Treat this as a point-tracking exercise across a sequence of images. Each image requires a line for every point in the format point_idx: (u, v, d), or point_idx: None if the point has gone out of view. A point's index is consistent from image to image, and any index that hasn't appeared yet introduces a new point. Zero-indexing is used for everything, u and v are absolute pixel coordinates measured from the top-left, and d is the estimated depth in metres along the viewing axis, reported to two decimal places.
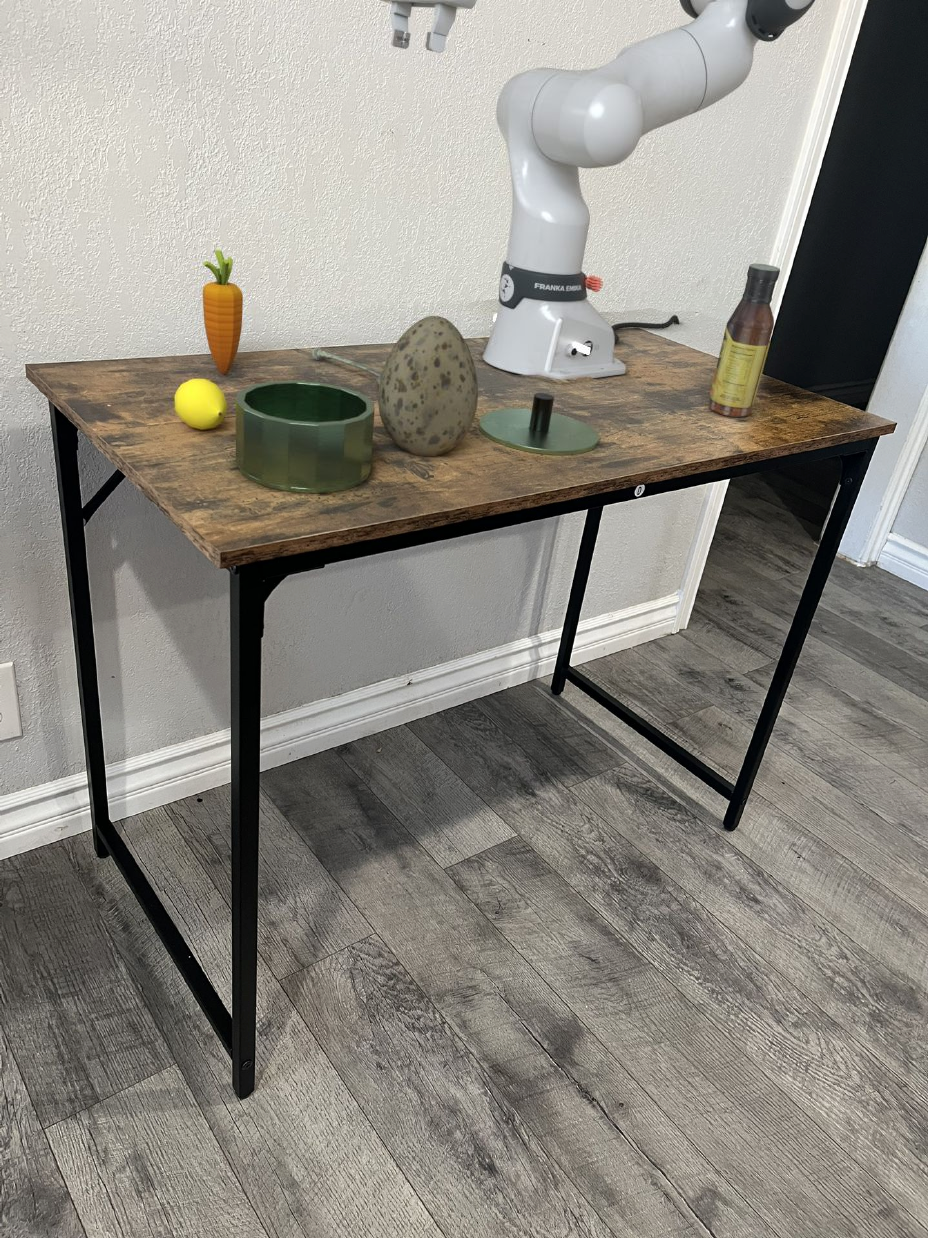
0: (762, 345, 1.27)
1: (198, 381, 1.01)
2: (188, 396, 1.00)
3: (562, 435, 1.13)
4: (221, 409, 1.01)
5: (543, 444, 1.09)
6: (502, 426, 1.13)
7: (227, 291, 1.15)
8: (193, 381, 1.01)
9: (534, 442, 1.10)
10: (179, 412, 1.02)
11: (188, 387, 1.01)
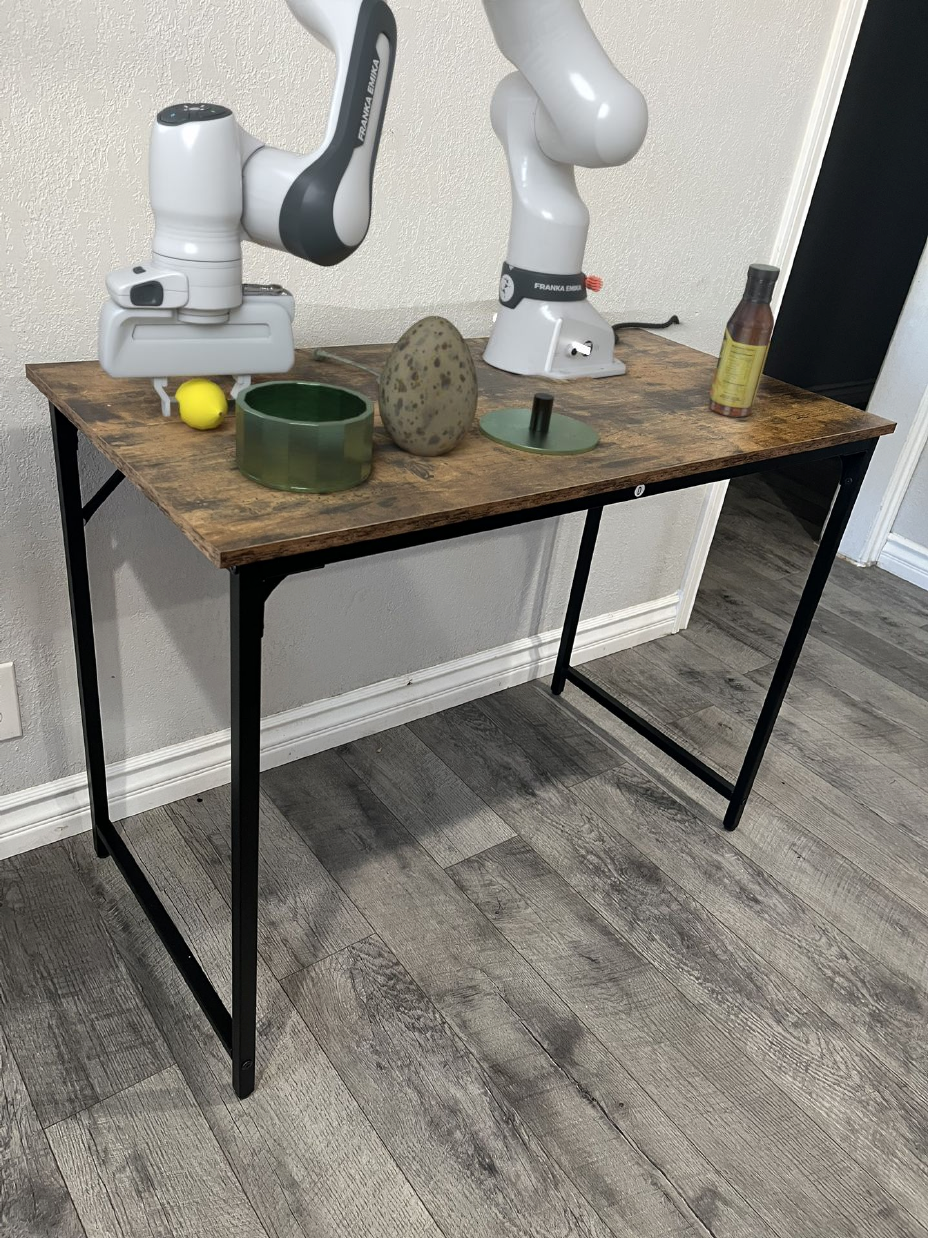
0: (762, 345, 1.27)
1: (198, 381, 1.01)
2: (188, 396, 1.00)
3: (562, 435, 1.13)
4: (222, 409, 1.01)
5: (543, 444, 1.09)
6: (502, 426, 1.13)
7: None
8: (193, 381, 1.01)
9: (534, 442, 1.10)
10: (179, 412, 1.02)
11: (189, 387, 1.01)
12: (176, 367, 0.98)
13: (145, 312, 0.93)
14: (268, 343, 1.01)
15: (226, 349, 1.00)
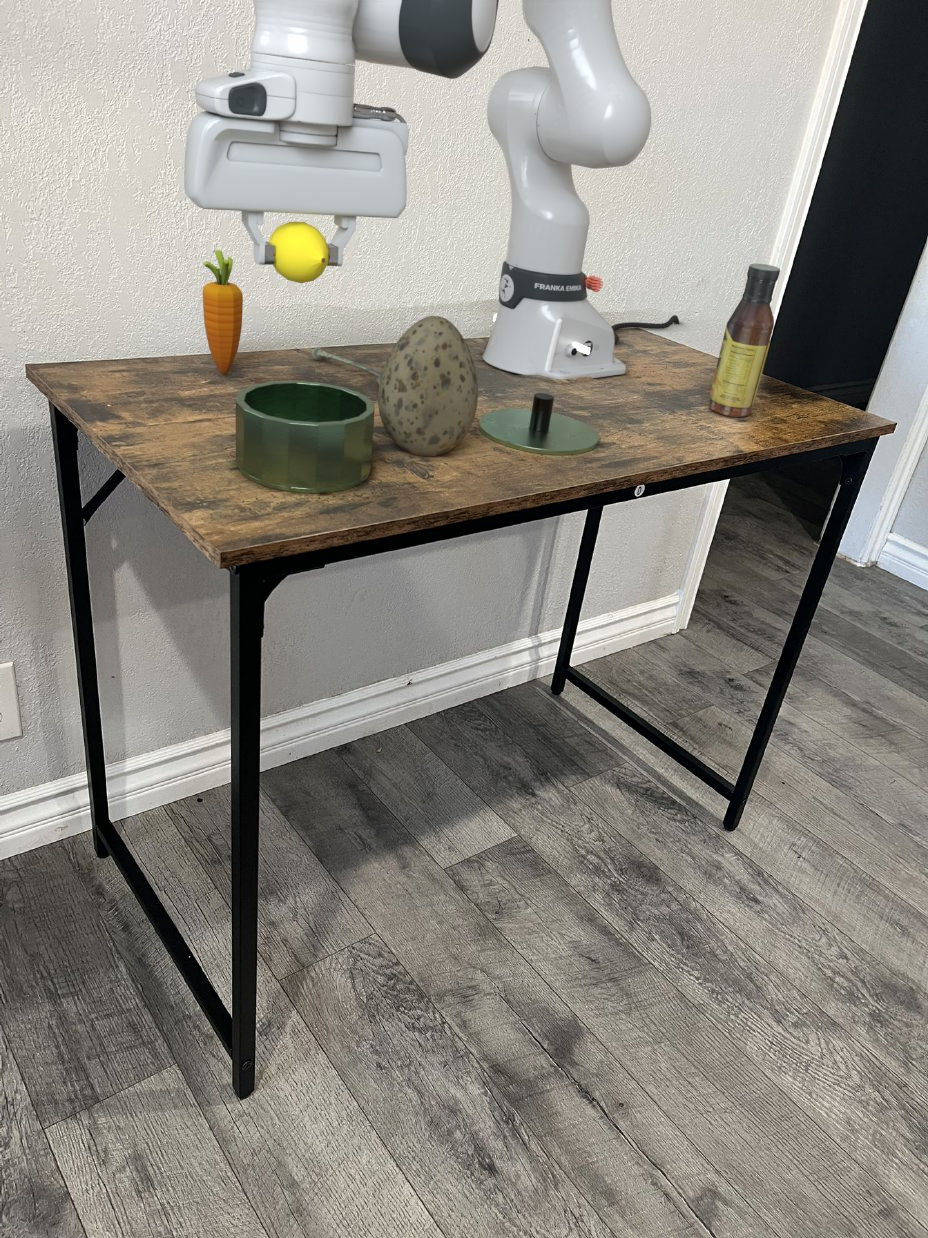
0: (762, 345, 1.27)
1: (297, 222, 0.87)
2: (286, 239, 0.86)
3: (562, 435, 1.13)
4: (324, 255, 0.87)
5: (543, 444, 1.09)
6: (502, 426, 1.13)
7: (227, 291, 1.15)
8: (291, 222, 0.87)
9: (534, 442, 1.10)
10: None
11: (286, 228, 0.86)
12: (275, 200, 0.83)
13: (245, 124, 0.78)
14: (378, 178, 0.87)
15: (331, 181, 0.85)
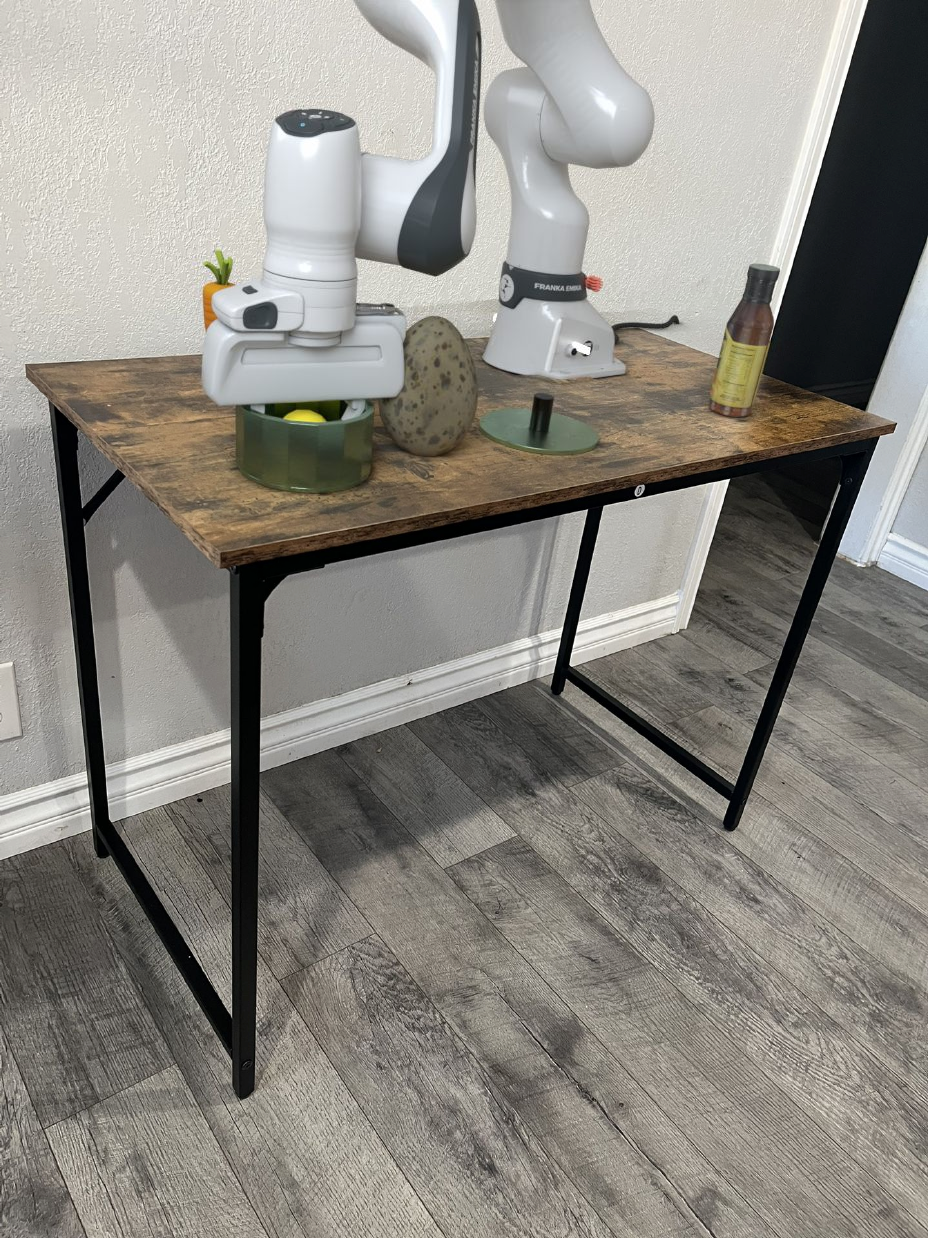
0: (762, 345, 1.27)
1: (304, 413, 0.95)
2: None
3: (562, 435, 1.13)
4: None
5: (543, 444, 1.09)
6: (502, 426, 1.13)
7: None
8: (298, 413, 0.95)
9: (534, 442, 1.10)
10: None
11: (294, 419, 0.94)
12: (285, 393, 0.91)
13: (257, 336, 0.86)
14: (379, 366, 0.95)
15: (336, 373, 0.93)
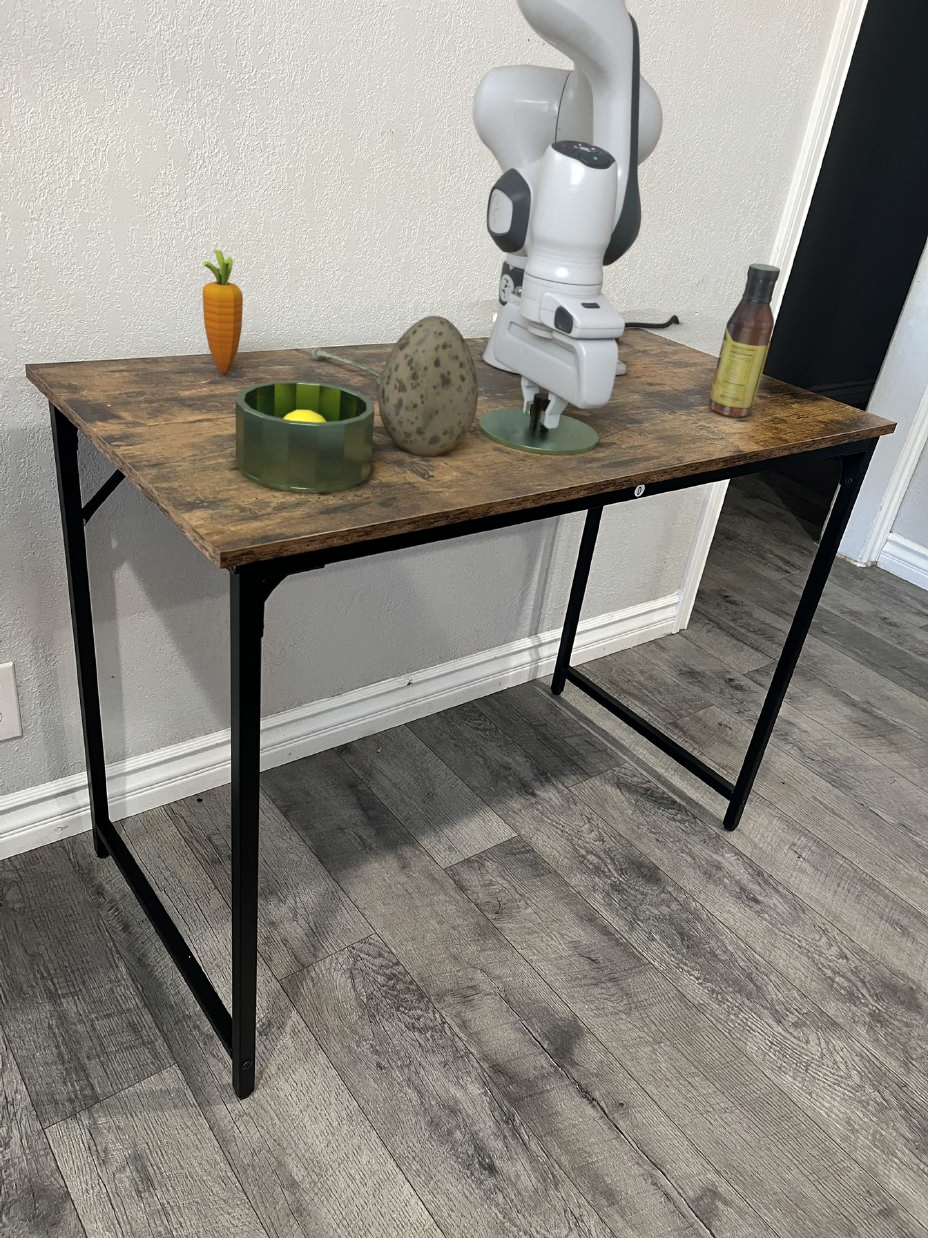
0: (762, 345, 1.27)
1: (304, 413, 0.95)
2: None
3: (562, 435, 1.13)
4: None
5: (542, 444, 1.09)
6: (502, 426, 1.13)
7: (227, 291, 1.15)
8: (298, 413, 0.95)
9: (534, 442, 1.10)
10: None
11: (294, 419, 0.94)
12: None
13: None
14: None
15: None
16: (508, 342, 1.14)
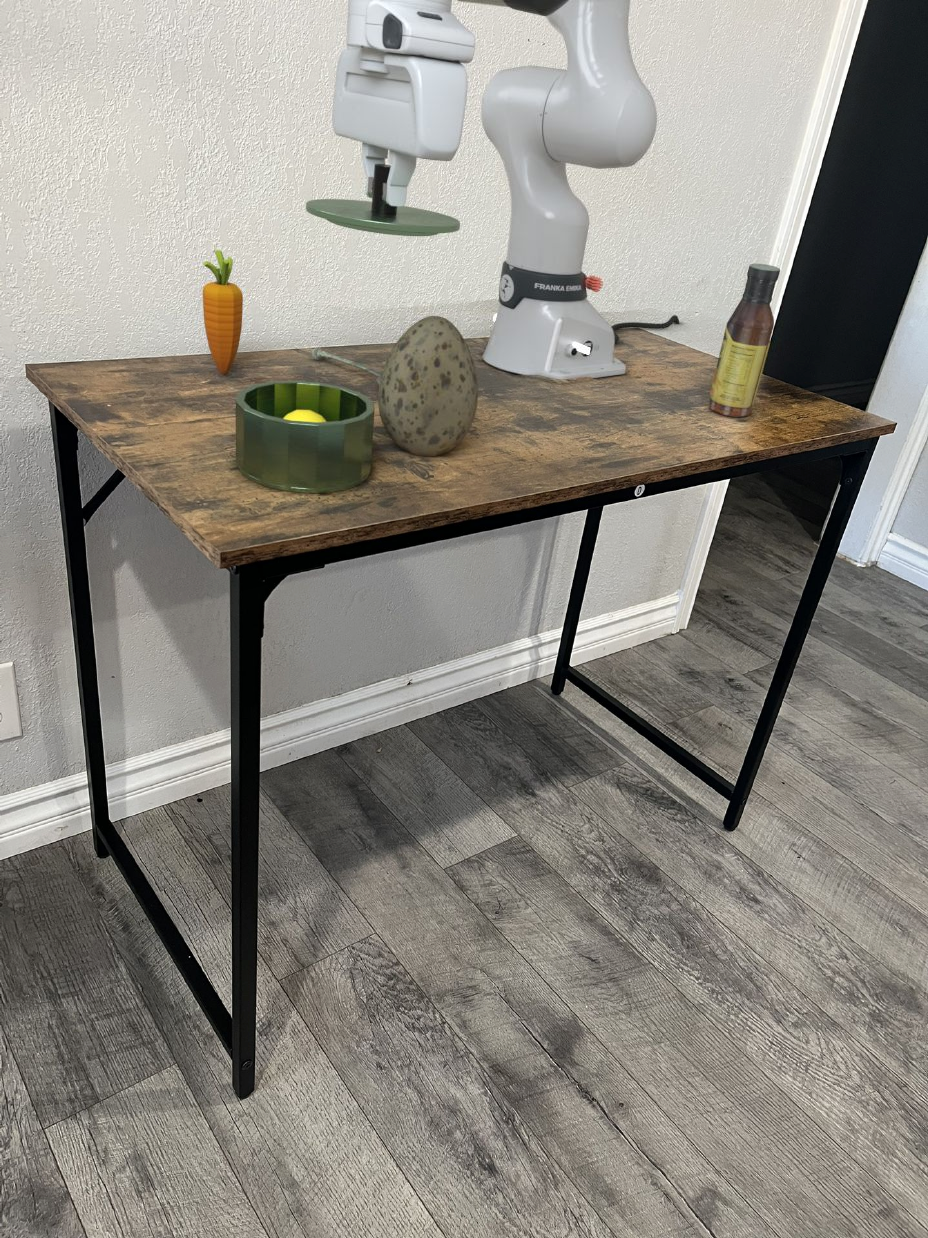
0: (762, 345, 1.27)
1: (304, 413, 0.95)
2: None
3: (411, 217, 0.88)
4: None
5: (380, 219, 0.84)
6: (335, 206, 0.88)
7: (227, 291, 1.15)
8: (298, 413, 0.95)
9: (369, 217, 0.85)
10: None
11: (294, 419, 0.94)
12: None
13: None
14: None
15: None
16: (345, 101, 0.89)
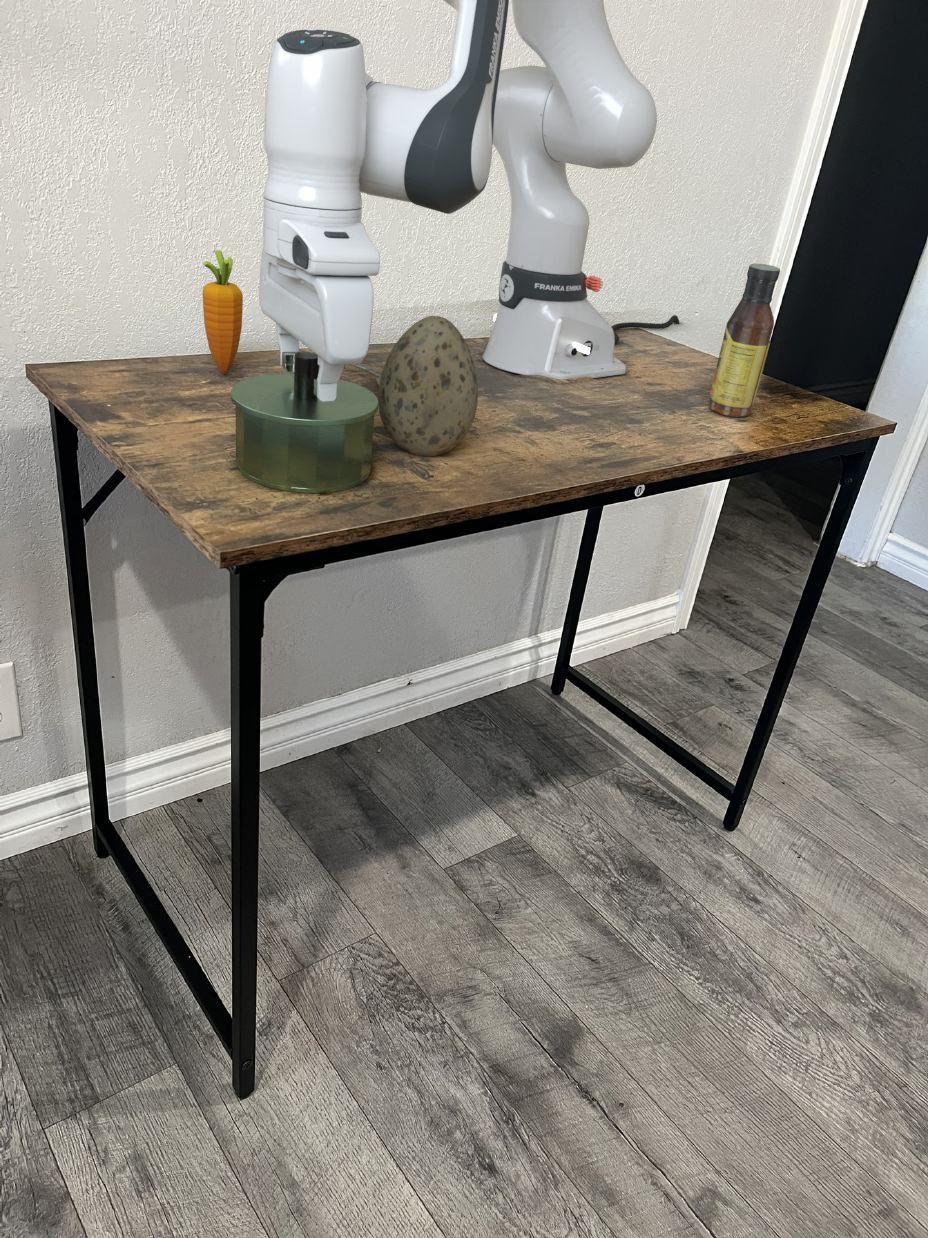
0: (762, 345, 1.27)
1: None
2: None
3: (331, 403, 0.93)
4: None
5: (297, 413, 0.89)
6: (259, 392, 0.93)
7: (227, 291, 1.15)
8: None
9: (288, 410, 0.90)
10: None
11: None
12: None
13: None
14: None
15: None
16: (269, 288, 0.94)
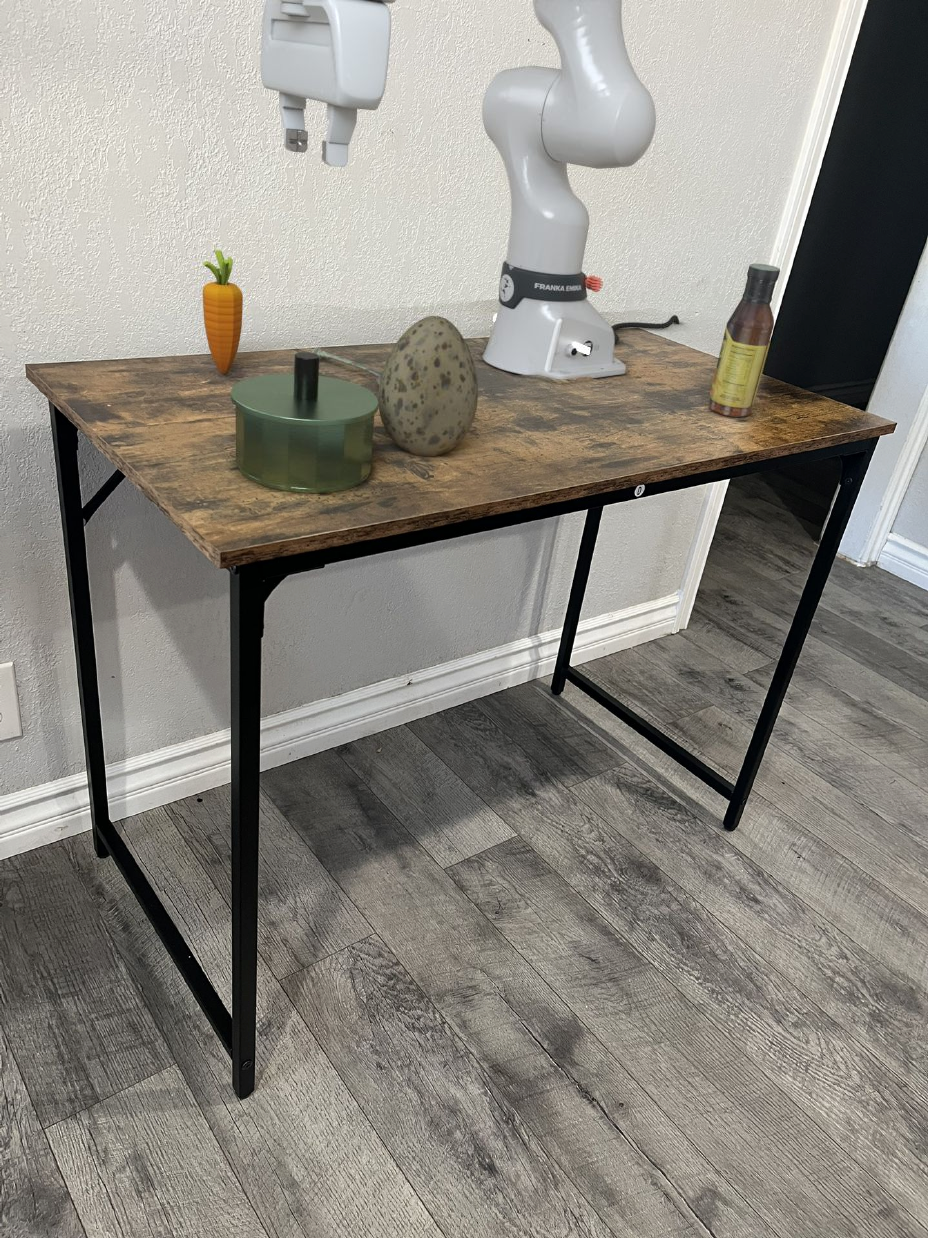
0: (762, 345, 1.27)
1: None
2: None
3: (331, 403, 0.93)
4: None
5: (297, 413, 0.89)
6: (259, 392, 0.93)
7: (227, 291, 1.15)
8: None
9: (288, 410, 0.90)
10: None
11: None
12: None
13: None
14: None
15: None
16: (271, 51, 0.84)
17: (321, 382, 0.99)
